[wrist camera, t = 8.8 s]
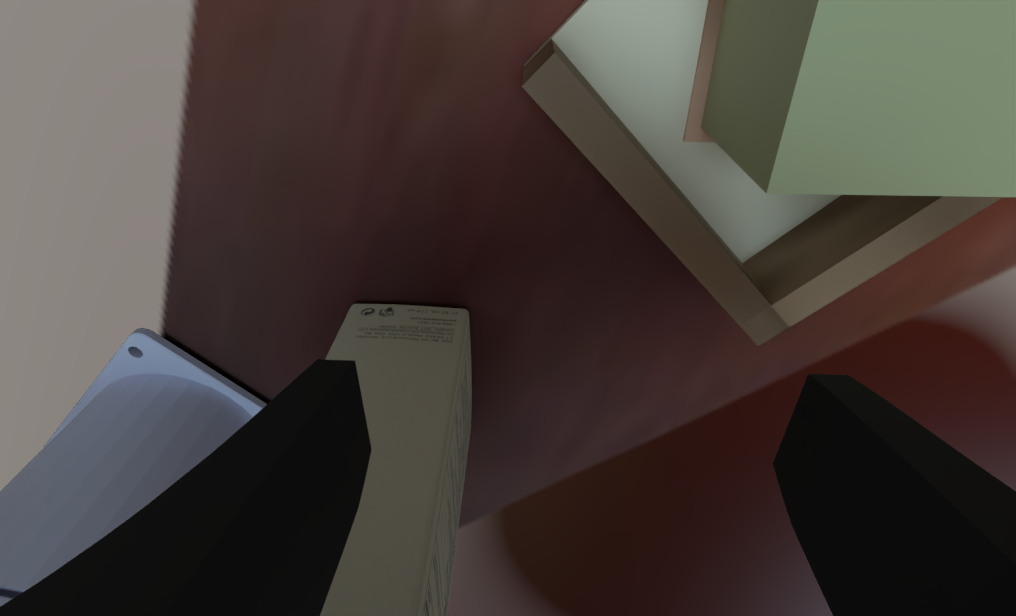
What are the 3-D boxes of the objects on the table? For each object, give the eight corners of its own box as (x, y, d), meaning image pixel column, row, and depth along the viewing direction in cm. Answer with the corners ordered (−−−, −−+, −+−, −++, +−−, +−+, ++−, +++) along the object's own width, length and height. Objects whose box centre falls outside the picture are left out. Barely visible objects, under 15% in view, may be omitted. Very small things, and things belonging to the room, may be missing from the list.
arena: (727, 293, 18) (758, 346, 16) (523, 64, 15) (521, 86, 12) (1101, 42, 14) (1226, 60, 11) (940, -372, 10) (1072, -479, 8)
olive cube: (886, 129, 15) (1027, 197, 11) (700, 127, 15) (766, 193, 11) (971, -100, 12) (1206, -132, 8) (743, -100, 12) (854, -131, 8)
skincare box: (349, 298, 19) (137, 691, 9) (472, 304, 19) (401, 706, 9) (369, 428, 23) (232, 819, 12) (473, 434, 23) (422, 832, 12)
